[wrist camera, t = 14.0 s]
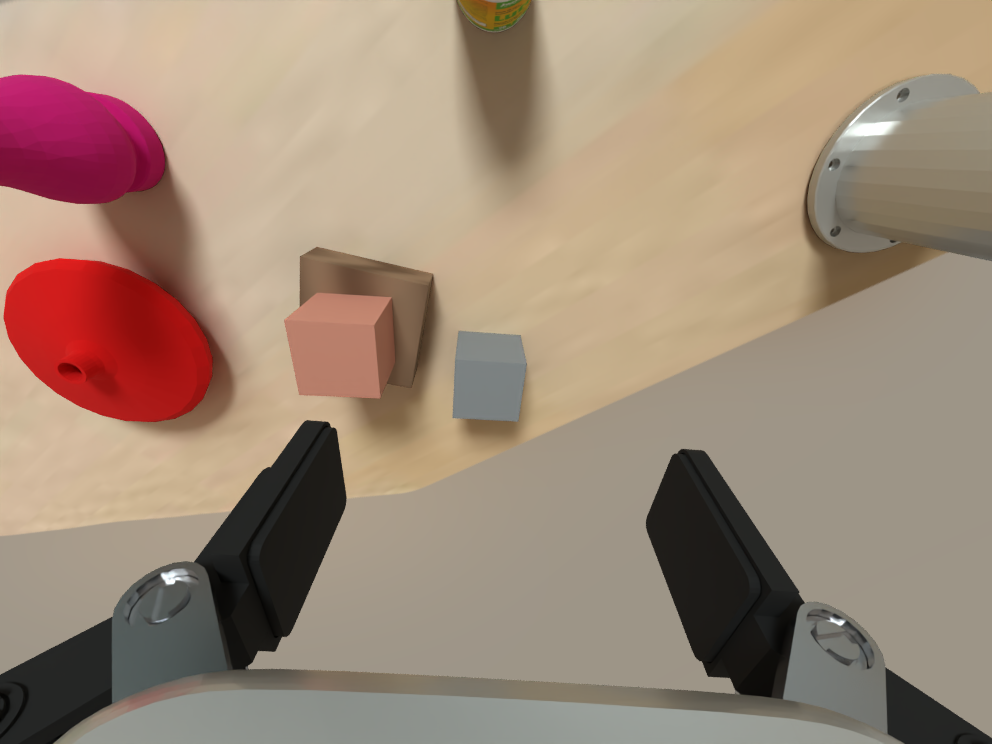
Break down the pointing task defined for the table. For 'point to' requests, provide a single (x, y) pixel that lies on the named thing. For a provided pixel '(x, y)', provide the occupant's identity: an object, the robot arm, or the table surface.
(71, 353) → the flat cone with hole
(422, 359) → the table surface
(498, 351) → the grey cube
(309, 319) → the salmon pink cube
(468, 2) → the supplement bottle
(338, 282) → the walnut block
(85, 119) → the pepper mill
